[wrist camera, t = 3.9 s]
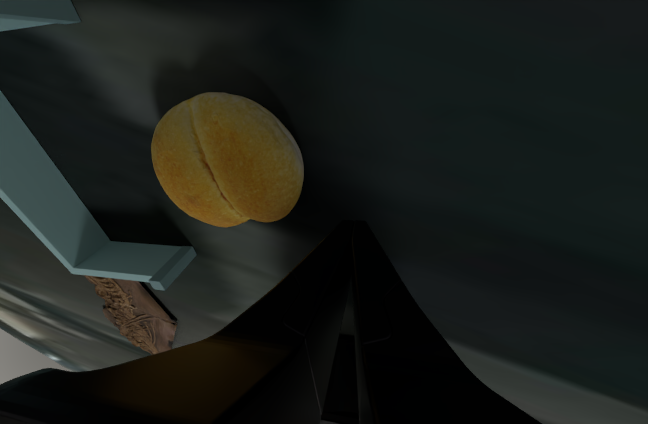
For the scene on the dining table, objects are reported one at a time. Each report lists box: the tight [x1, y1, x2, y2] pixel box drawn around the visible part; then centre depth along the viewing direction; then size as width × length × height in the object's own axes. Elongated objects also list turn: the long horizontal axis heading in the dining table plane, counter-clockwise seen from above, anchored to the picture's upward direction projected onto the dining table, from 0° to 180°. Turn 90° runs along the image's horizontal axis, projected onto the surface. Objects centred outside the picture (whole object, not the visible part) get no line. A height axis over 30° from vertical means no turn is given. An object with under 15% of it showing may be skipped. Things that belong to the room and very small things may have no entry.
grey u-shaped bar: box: [0, 0, 197, 290], centre depth 16 cm, size 10×18×4 cm, turn 5°
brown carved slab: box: [85, 275, 177, 355], centre depth 31 cm, size 26×11×1 cm, turn 168°
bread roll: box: [151, 92, 304, 227], centre depth 14 cm, size 8×9×4 cm
